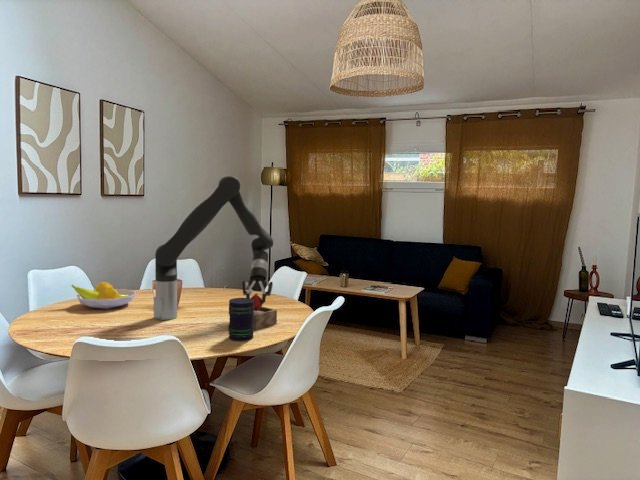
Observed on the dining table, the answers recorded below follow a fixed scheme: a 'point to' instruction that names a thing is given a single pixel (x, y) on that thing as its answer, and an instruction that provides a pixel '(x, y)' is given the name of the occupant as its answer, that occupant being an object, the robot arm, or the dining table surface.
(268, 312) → the wooden square tray
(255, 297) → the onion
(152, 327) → the dining table surface
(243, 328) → the storage jar
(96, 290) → the fruit bowl
